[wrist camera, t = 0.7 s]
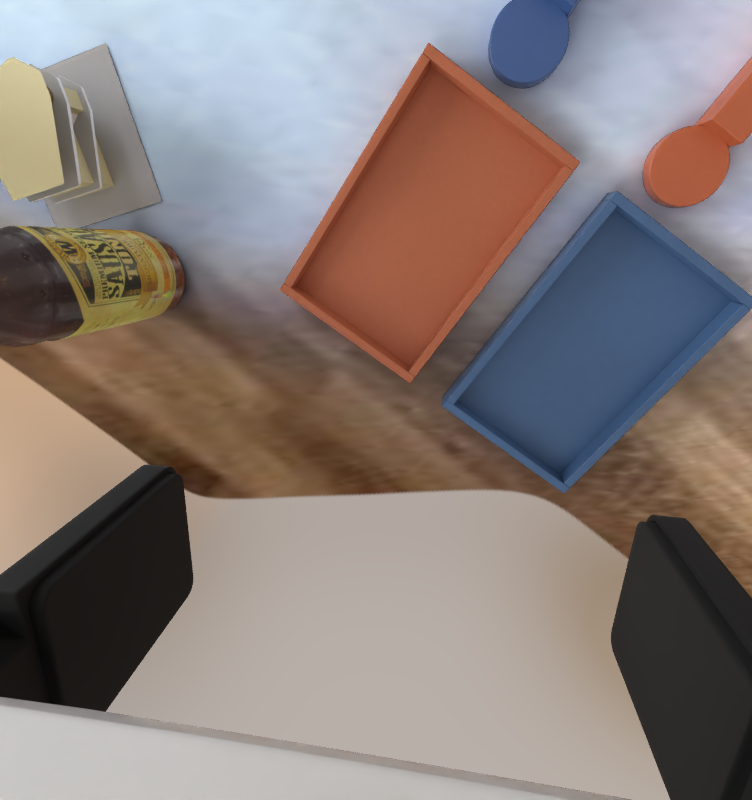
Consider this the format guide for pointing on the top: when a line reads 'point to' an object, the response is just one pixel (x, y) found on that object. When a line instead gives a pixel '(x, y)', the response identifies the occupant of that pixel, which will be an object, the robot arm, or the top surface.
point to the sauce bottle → (81, 281)
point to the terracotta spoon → (701, 148)
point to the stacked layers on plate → (72, 140)
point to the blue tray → (595, 343)
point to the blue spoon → (529, 40)
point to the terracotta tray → (426, 215)
